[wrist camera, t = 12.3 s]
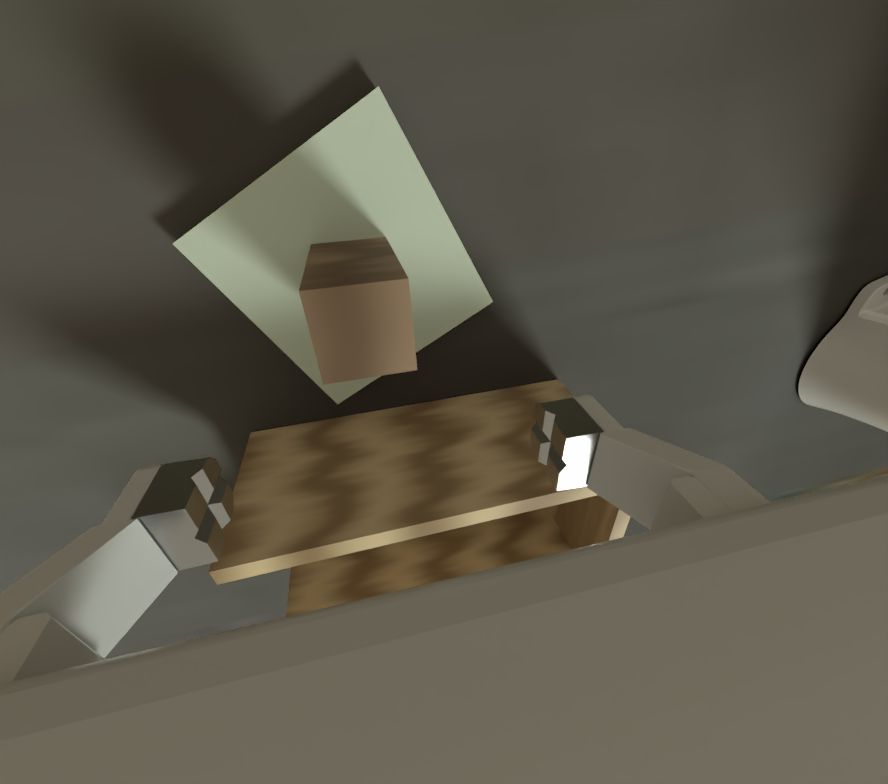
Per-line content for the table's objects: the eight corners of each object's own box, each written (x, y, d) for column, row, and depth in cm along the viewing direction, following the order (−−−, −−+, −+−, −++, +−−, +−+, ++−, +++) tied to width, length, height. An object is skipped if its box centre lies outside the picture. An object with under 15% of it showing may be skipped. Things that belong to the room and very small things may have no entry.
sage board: (376, 89, 20) (378, 86, 19) (487, 296, 28) (493, 301, 27) (179, 239, 22) (172, 243, 21) (337, 396, 30) (337, 404, 29)
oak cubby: (557, 379, 34) (646, 472, 25) (541, 488, 42) (603, 591, 32) (250, 432, 30) (208, 572, 20) (297, 543, 38) (284, 682, 28)
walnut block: (385, 237, 23) (408, 278, 16) (394, 306, 26) (417, 369, 18) (310, 244, 23) (298, 291, 15) (327, 315, 25) (323, 384, 18)
